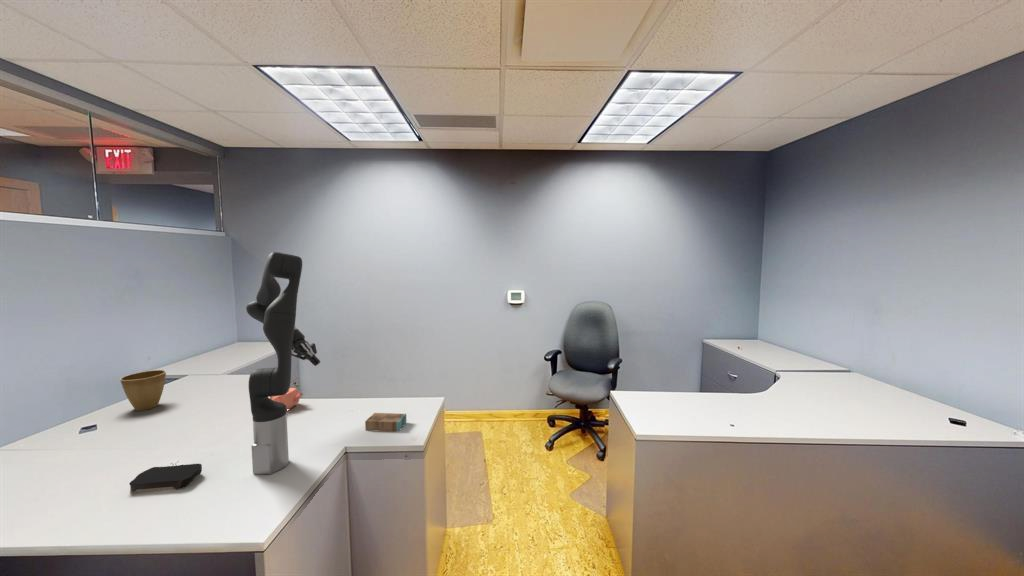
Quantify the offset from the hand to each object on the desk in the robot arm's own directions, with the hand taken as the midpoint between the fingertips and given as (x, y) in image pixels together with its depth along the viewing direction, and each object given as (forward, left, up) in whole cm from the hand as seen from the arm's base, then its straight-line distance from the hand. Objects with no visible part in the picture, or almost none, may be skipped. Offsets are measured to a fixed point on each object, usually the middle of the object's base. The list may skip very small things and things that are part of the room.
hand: (318, 363), depth 145 cm
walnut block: (0, -22, -24) cm, 33 cm away
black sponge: (-42, +22, -26) cm, 54 cm away
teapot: (+14, +26, -26) cm, 39 cm away
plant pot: (+10, +94, -26) cm, 98 cm away
